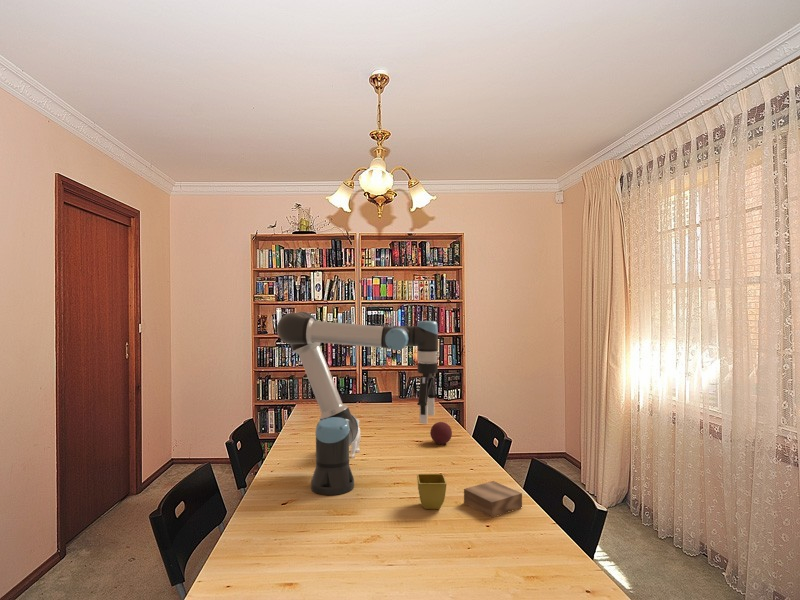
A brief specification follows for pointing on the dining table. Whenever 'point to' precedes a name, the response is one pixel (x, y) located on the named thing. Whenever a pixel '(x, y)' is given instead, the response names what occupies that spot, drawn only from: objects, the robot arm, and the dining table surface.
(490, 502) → the walnut block
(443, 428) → the decorative ball
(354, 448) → the cat figurine
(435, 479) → the flower pot
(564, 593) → the dining table surface
